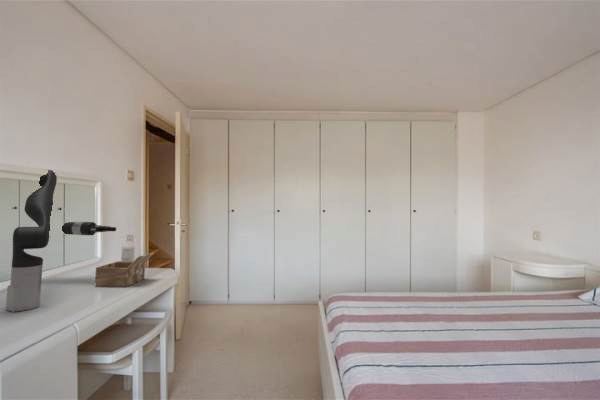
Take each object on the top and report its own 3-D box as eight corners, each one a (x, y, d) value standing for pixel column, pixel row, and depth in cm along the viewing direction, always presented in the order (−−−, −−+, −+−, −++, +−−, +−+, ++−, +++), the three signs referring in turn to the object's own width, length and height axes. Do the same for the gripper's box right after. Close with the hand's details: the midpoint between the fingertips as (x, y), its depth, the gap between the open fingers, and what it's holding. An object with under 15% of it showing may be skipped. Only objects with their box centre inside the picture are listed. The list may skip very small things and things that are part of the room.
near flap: (127, 266, 149) (128, 267, 149) (138, 256, 149) (139, 257, 149) (144, 261, 166) (145, 261, 166) (154, 252, 166) (155, 252, 166)
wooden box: (125, 287, 148) (126, 268, 148) (93, 286, 147) (95, 267, 148) (145, 279, 166) (145, 262, 167) (116, 278, 166) (117, 261, 167)
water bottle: (128, 276, 173) (131, 235, 174) (117, 275, 173) (119, 235, 174) (135, 273, 180) (138, 234, 181) (124, 273, 180) (127, 234, 181)
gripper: (75, 222, 151) (107, 223, 151) (93, 221, 164) (122, 222, 165) (74, 236, 151) (107, 236, 151) (92, 234, 164) (122, 235, 164)
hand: (115, 229), depth 158 cm, fingers closed
